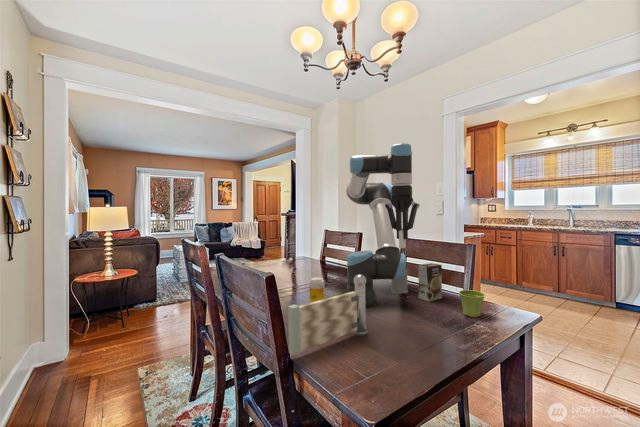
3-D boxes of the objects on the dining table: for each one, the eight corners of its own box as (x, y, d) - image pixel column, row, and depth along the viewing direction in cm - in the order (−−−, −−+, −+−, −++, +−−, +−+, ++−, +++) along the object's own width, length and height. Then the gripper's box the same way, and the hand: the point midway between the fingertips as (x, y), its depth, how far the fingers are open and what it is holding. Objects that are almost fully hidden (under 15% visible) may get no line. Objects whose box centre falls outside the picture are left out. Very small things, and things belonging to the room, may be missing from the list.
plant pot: (489, 319, 109) (489, 297, 109) (462, 318, 111) (462, 296, 111) (480, 311, 118) (480, 290, 118) (456, 309, 120) (456, 289, 120)
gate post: (352, 330, 102) (351, 273, 102) (365, 329, 102) (364, 272, 102) (355, 336, 97) (354, 276, 97) (368, 335, 98) (368, 275, 97)
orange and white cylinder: (309, 312, 120) (309, 277, 120) (324, 311, 121) (323, 276, 121) (310, 318, 114) (309, 280, 114) (325, 317, 115) (324, 280, 114)
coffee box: (428, 301, 131) (428, 266, 130) (418, 298, 137) (417, 264, 136) (442, 298, 135) (442, 264, 135) (431, 295, 141) (431, 262, 140)
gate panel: (354, 327, 100) (353, 289, 99) (359, 329, 98) (358, 290, 97) (288, 352, 84) (287, 306, 83) (293, 355, 82) (292, 308, 81)
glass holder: (398, 294, 143) (397, 264, 142) (381, 287, 156) (381, 260, 155) (412, 292, 146) (411, 263, 146) (394, 285, 159) (394, 258, 159)
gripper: (381, 186, 109) (382, 247, 109) (414, 183, 101) (415, 250, 101) (389, 187, 115) (390, 245, 115) (422, 184, 107) (423, 247, 107)
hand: (402, 247), depth 108 cm, fingers closed
